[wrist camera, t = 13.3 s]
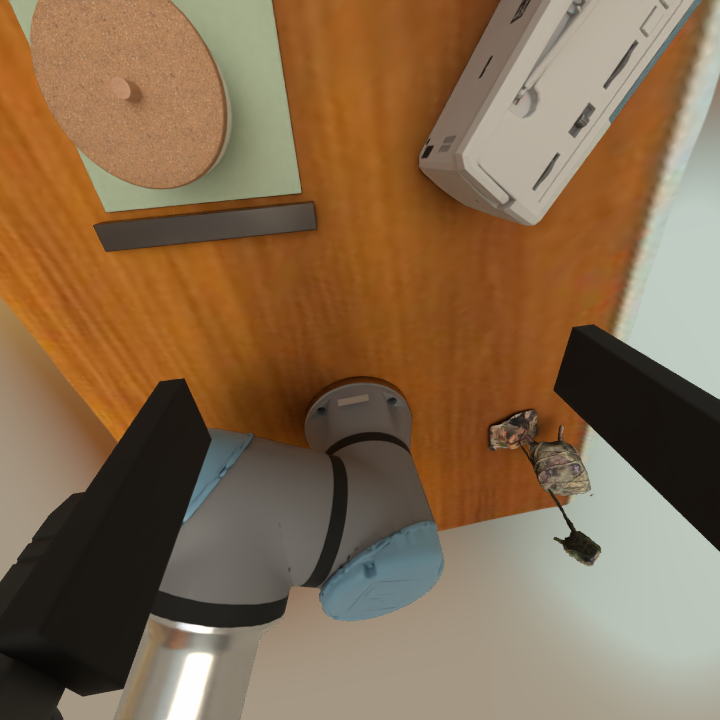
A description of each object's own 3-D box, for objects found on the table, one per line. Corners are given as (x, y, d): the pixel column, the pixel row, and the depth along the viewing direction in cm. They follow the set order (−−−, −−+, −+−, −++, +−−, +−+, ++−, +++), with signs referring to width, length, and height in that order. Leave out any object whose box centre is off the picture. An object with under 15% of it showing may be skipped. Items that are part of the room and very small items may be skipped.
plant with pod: (545, 440, 56) (646, 563, 39) (481, 449, 55) (556, 579, 38) (558, 404, 51) (677, 524, 35) (489, 413, 51) (577, 541, 34)
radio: (466, 208, 34) (616, 260, 17) (401, 165, 31) (506, 177, 15) (629, -51, 25) (1246, -451, 9) (560, -143, 23) (1278, -1008, 6)
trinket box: (261, 172, 30) (242, 177, 22) (143, 191, 29) (82, 204, 22) (217, 5, 24) (171, -68, 16) (70, 27, 24) (-51, -37, 16)
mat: (301, 192, 32) (301, 193, 31) (108, 211, 30) (105, 212, 30) (269, -20, 24) (268, -23, 24) (10, -5, 23) (5, -8, 22)
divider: (317, 226, 33) (317, 229, 32) (114, 248, 32) (105, 252, 31) (313, 200, 32) (313, 202, 31) (101, 222, 31) (92, 225, 29)
